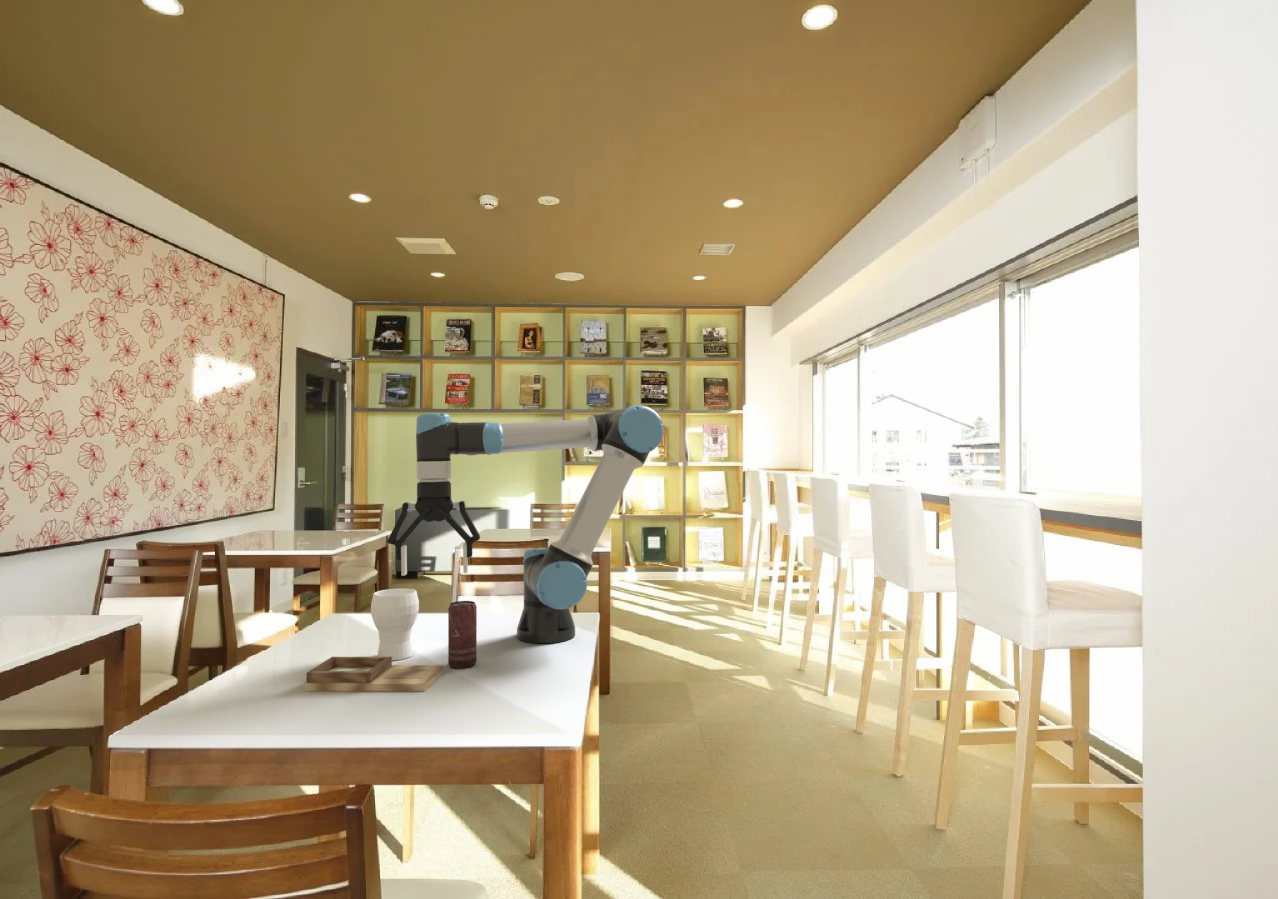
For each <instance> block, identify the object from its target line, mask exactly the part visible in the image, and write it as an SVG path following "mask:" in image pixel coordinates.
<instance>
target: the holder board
mask: <svg viewBox="0 0 1278 899" xmlns="http://www.w3.org/2000/svg"><path fill="white" fill-rule="evenodd" d="M443 673H444V665H443V664H442V665H441V664H437V665H436V664H435V665H433V664H432V665H430V664H429V665H427V664H426V665H425V664H420V665H418V664H417V665H416V664H415V665H414V664H413V665H411V664H408V665H407V664H405V665H403V664H402V665H401V664H399V665H398V664H393V660H392V657H377V656H331V657H328V659H326V660H324V661H323V662H321V663H320V664H318V665H317V666H315V667H314V668H312V669H310V670H309V671H307V672H306V682H305V683H304V684H305V685H304V689H305V690H304V691H305V692H426V691H427V689H428V688H430V686H431V685H432V684H434V682H435V681H436V680H437V679H438V678H439V677H440V676H441V675H442V674H443Z"/></svg>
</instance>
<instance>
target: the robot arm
mask: <svg viewBox="0 0 1278 899" xmlns="http://www.w3.org/2000/svg"><path fill="white" fill-rule="evenodd" d="M415 426H416V429H415V430H416V432H415V442H416V443H415V445H416V449H415V450H416V479H417V480H419V481H417V483H416V502H415V503H411V502H408V501H406V502H403V503H402V506H401V513H400V515H399V517H398V519H397V521H396V522H395V525H394V527H393V529H392V530H391V533H390V535H389V537H388V538H387V543H388V544H389V545H393V546H395V549H396V550H395V551H396V553H395V554H396V556H395V558H396V561H400V562H401V563H400V564H401V565H400V566H401V567H400V568H401V576H406V575H408V565H407V564H408V557H407V556H408V550H407V548H408V547H407V545H406V544H405V545H404V543H405V542H406V541H407V540H408V539H409V537H410V536H412V534H413V533H414V532H415V531H416V529H417V528H418V527H419V525H420V524H421V523H422V522H423V521H425V522H430V523H431V522H443V521H444V520H445V521H446V522H447V523H448V524H449V525H450V527H452V529H453V530H454V531H455V532H456V533H457V534H458V535H459V536H460V537H461V538H462V539H463V540H464V542H465V543H462V553H463V554H462V558H463V559H462V560H463V562H462V564H463V572H462V573H463V574H467V573H468V571H469V565H468V564H469V561H468V560H469V558H470V559H471V558H472V557H473V544H474V543H475V542H478V541H479V540H480V539H481V535H480V533H479V531H478V530H477V527H476V525H475V524H474V522H473V520H472V518H471V516H470V515H469V512H468V511H467V507H466V506H467V505H466V502H465V500H460V501H459V502H458V501H455V502H453V501H452V483H451V481H449V480H450V479H451V478H452V464H451V460H452V459H451V456H452V455H455V456H456V455H467V456H478V455H486V456H487V455H497V454H502V453H503V454H504V453H505V454H506V453H518V452H519V453H521V452H522V453H523V452H535V451H552V450H553V451H555V450H566V449H569V450H570V449H583V448H586V449H587V448H589V449H590V450H591V451H592V452H594V451H595V452H596V451H598V452H599V451H603V454H602V457H601V459H600V461H599V463H598V464H597V466H596V469H595V470H594V473H593V474H592V476H591V478H590V481H589V482H588V484H587V486H586V487H585V490H584V492H583V494H582V496H581V498H580V500H579V502H578V504H577V506H576V507H575V509H574V512H572V513H573V514H572V516H571V517H570V519H569V521H568V523H567V525H566V526H565V529H564V531H563V533H562V535H561V536H560V538H559V540H556V541H553V542H551V543H550V544H549V547H547V548H529V549H526V550H525V551H524V553H523V560H522V563H523V608H522V611H521V615H520V618H519V621H518V624H517V626H516V627H517V628H516V639H517V640H519V641H522V642H525V643H529V644H530V643H531V644H553V643H560V642H565V641H568V640H571V639H573V638H574V637H576V625H575V622H574V619H573V616H572V613H571V609H570V608H572V607H575V606H576V605H577V604H579V602H581V600H582V599H583V598H584V596H585V594H586V592H587V588H588V576H589V574H590V571H591V570H592V568H593V566H594V562H593V559H592V554H593V553H594V552H593V551H594V550H595V548H596V547H597V544H598V542H599V540H600V538H601V536H602V534H603V532H604V530H605V528H606V526H607V524H608V523H609V520H610V518H611V517H612V514H613V513H614V510H615V508H616V506H617V504H618V502H619V500H621V499H620V498H621V497H622V495H623V493H624V490H625V488H626V486H627V485H628V484H629V481H630V478H631V477H632V475H633V472H634V471H635V470H636V469H638V468H639V469H640V468H642V467H643V466H644V464H645V462H646V460H647V458H648V456H649V454H650V452H652V451H654V450H656V448H657V447H659V446H660V444H661V442H662V440H663V437H664V433H665V431H664V430H665V429H664V424H663V421H662V418H661V416H660V415H659V414H658V412H656V411H655V410H654V409H652V408H651V407H649V406H646V405H645V406H644V405H637V404H636V405H635V404H633V405H630V406H628V407H627V408H626V407H624V408H621V409H617V410H614V411H610V412H606V413H602V414H601V413H600V414H591V415H590V414H589V416H588V417H587V418H584V419H567V420H564V419H563V420H549V421H548V420H547V421H528V422H526V421H525V422H512V423H511V422H510V423H509V422H508V423H507V422H506V423H499V422H491V421H490V422H489V421H486V422H483V421H482V422H477V421H475V422H474V421H473V422H454V421H452V420H451V416H450V414H448V413H443V412H442V413H437V412H429V413H426V412H425V413H421V414H419V415H418V416H417V417H416V425H415ZM454 508H455V510H456V511H457V512H459V513H460V515H461V517H462V519H463V521H464V522H465V524H466V527H467V529H468V530H469V532H470V533H471V536H470V535H469V533H468V532H467V531H466V530H465V529H464V528H463V527H462V525H461V524H460V523H458V521H457V520H456V519H455V518H454V516H453V515H452V514H451V511H452V510H453V509H454ZM413 509H415V511H416V512H417V513H418V516H417V517H416V518H415V519H414V521H413V522H412V523H411V524H410V526H409V527H408V528H407V529H406V530H405V531H404V533H403V534H402V535H401V536H400V537H399V538H397V537H398V536H399V534H400V531H401V529H402V527H403V526H404V523H405V521H406V520H407V518H408V515H409V513H411V512H413Z"/></svg>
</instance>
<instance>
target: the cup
mask: <svg viewBox="0 0 1278 899" xmlns="http://www.w3.org/2000/svg"><path fill="white" fill-rule="evenodd" d="M419 605H420V600H419V596H418V592H417V590H416V589H413V588H389V589H382V590H378V591H375V592H373V595H372V599H371V603H370V614H371V618H372V621H373V624H374V626H375V627H376V630H377V632H378V638H379V639H378V640H379V643H378V650H377V656H376V657H392V661H399V660H405V659H408V658H410V657H411V656H413V648H412V647H413V646H412V642H411V636H412V629H413V626H414V625H415V623H416V622H417V621H416V620H417V619H418V618H417V617H418V614H419V611H420V606H419Z"/></svg>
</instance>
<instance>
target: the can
mask: <svg viewBox="0 0 1278 899" xmlns="http://www.w3.org/2000/svg"><path fill="white" fill-rule="evenodd" d="M447 609H448V610H447V613H448V618H447V619H448V620H447V621H448V622H447V623H448V624H447V625H448V626H447V627H448V628H447V629H448V631H447V632H448V633H447V635H448V638H447V640H448V641H447V642H448V645H447V646H448V648H447V649H448V654H447V657H448V658H447V659H448V660H447V661H448V662H447V664H448V665H449V666H448V667H450V668H451V669H455V670H463V669H470V668H472V667H474V666H476V664H477V652H478V651H477V646H478V645H477V644H478V643H477V642H478V641H477V636H478V635H477V633H478V632H477V628H478V626H477V616H478V615H477V613H478V612H477V610H478V609H477V605H476V602H475V601H472V600H458V601H453V602H451V603H450V604H449V606H448V608H447Z"/></svg>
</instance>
